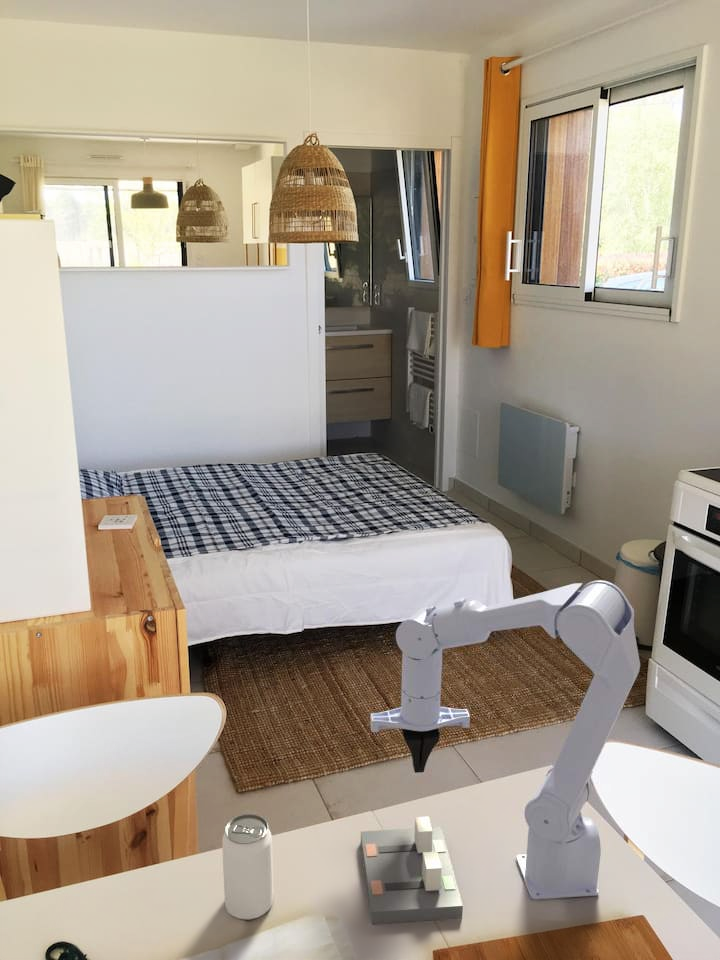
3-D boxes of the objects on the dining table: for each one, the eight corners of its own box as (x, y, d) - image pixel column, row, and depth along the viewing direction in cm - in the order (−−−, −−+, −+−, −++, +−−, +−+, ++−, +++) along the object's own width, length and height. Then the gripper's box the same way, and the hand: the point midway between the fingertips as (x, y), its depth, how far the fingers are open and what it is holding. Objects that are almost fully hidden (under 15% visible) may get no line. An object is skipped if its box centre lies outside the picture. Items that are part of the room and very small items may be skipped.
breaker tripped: (427, 837, 119) (428, 816, 118) (431, 852, 116) (432, 831, 115) (414, 838, 119) (415, 817, 118) (417, 853, 116) (418, 831, 115)
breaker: (436, 873, 113) (437, 851, 112) (440, 890, 110) (441, 867, 109) (422, 874, 112) (422, 852, 111) (425, 890, 109) (426, 868, 108)
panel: (440, 838, 123) (441, 826, 122) (462, 918, 108) (462, 905, 108) (360, 842, 121) (360, 830, 121) (371, 924, 107) (371, 911, 106)
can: (265, 925, 107) (262, 849, 103) (217, 917, 108) (214, 841, 104) (279, 888, 113) (277, 815, 109) (234, 881, 114) (231, 808, 111)
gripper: (464, 672, 124) (460, 750, 128) (368, 676, 123) (367, 754, 126) (474, 697, 117) (470, 778, 121) (374, 702, 116) (372, 783, 120)
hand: (418, 768), depth 123 cm, fingers closed
